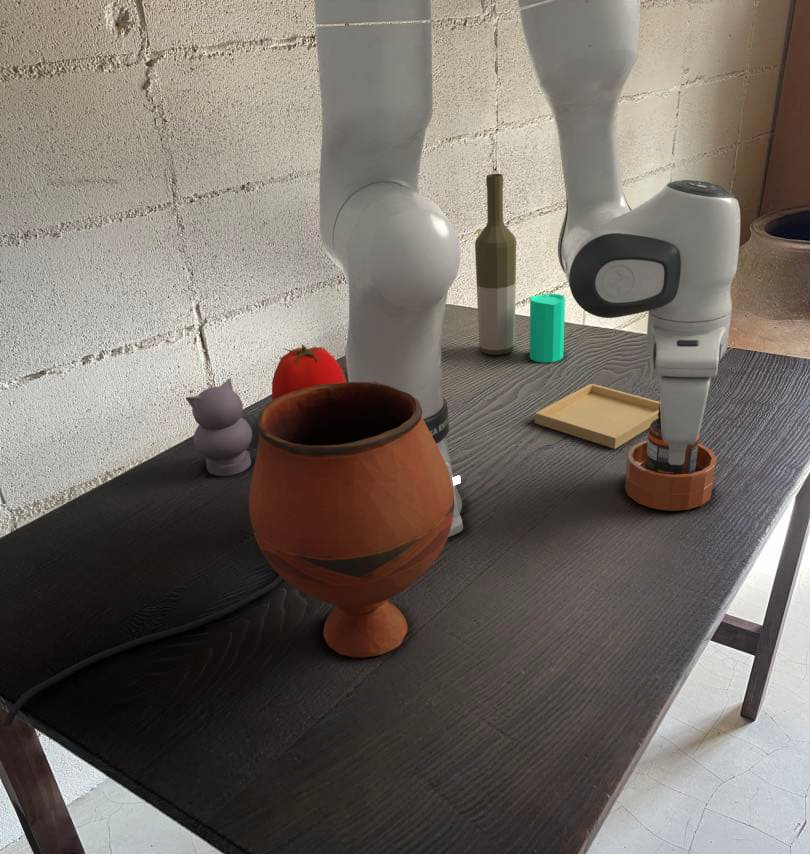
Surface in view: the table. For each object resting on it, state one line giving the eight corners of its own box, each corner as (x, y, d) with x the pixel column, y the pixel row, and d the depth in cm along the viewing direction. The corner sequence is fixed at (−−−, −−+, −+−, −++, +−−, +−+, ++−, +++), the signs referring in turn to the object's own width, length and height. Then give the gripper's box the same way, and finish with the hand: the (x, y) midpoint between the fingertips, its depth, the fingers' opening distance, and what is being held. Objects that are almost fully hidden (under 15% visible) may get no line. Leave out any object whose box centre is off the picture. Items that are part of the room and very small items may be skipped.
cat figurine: (222, 485, 115) (205, 405, 109) (188, 470, 120) (170, 393, 113) (269, 461, 120) (254, 383, 114) (234, 448, 125) (219, 372, 118)
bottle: (522, 347, 152) (523, 171, 136) (505, 360, 147) (504, 179, 131) (488, 342, 156) (485, 170, 139) (471, 355, 151) (465, 178, 135)
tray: (614, 449, 115) (615, 438, 115) (534, 423, 124) (534, 412, 124) (669, 415, 123) (671, 404, 122) (590, 393, 132) (591, 383, 131)
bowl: (682, 521, 98) (687, 485, 96) (609, 494, 105) (611, 459, 102) (726, 488, 104) (732, 453, 101) (654, 464, 111) (657, 430, 108)
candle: (526, 361, 146) (527, 294, 139) (532, 350, 151) (533, 283, 144) (560, 363, 144) (563, 294, 138) (565, 351, 149) (567, 284, 142)
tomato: (367, 419, 130) (359, 338, 123) (319, 451, 122) (307, 366, 115) (311, 407, 136) (299, 328, 129) (260, 437, 128) (245, 355, 120)
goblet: (466, 690, 77) (455, 450, 64) (262, 702, 78) (208, 467, 64) (454, 572, 93) (444, 361, 80) (285, 583, 94) (246, 375, 80)
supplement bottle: (687, 477, 107) (698, 396, 100) (696, 501, 102) (708, 416, 96) (640, 478, 107) (647, 397, 101) (647, 501, 102) (655, 417, 96)
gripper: (660, 305, 103) (652, 407, 110) (655, 367, 87) (646, 482, 94) (714, 305, 101) (702, 409, 108) (719, 368, 85) (704, 486, 92)
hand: (676, 444), depth 101 cm, fingers open, 8 cm apart
